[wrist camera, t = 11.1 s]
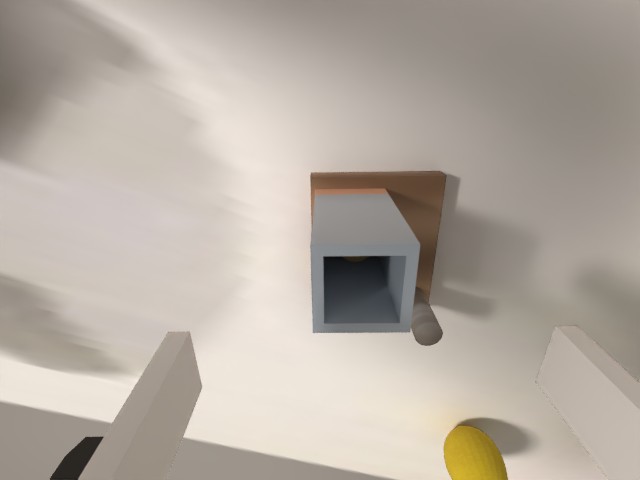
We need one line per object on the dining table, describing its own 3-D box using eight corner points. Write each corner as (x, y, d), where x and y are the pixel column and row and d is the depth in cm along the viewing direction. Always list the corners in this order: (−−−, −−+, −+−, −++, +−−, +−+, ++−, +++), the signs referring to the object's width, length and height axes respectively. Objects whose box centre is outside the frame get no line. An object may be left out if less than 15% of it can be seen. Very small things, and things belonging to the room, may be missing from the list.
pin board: (311, 172, 26) (307, 196, 20) (439, 171, 26) (474, 194, 20) (314, 301, 31) (312, 351, 25) (422, 300, 31) (446, 350, 25)
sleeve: (315, 189, 25) (310, 245, 16) (384, 188, 25) (420, 244, 16) (316, 251, 27) (313, 332, 18) (380, 250, 27) (410, 332, 18)
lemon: (467, 447, 39) (501, 529, 31) (425, 435, 38) (450, 516, 31) (494, 416, 37) (536, 497, 29) (449, 403, 36) (482, 483, 29)
